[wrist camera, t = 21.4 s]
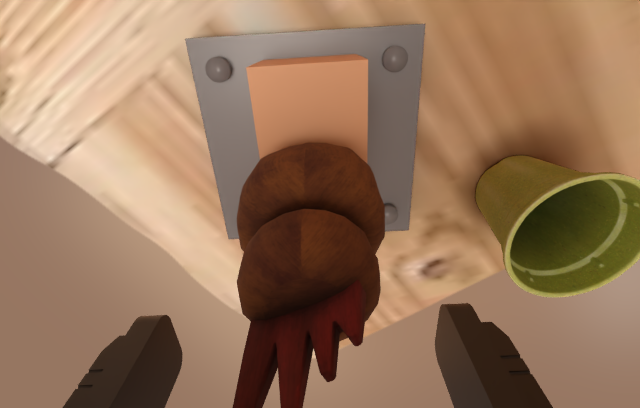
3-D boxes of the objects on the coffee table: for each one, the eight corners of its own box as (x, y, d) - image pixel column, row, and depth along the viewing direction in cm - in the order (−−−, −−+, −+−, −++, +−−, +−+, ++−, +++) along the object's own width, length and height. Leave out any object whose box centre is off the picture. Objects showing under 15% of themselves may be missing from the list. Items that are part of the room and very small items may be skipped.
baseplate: (419, 24, 23) (429, 23, 21) (404, 221, 30) (410, 235, 28) (192, 38, 23) (180, 38, 21) (232, 230, 31) (226, 244, 28)
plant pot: (471, 130, 26) (534, 170, 19) (584, 137, 27) (693, 178, 19) (444, 229, 31) (487, 295, 23) (542, 234, 31) (617, 300, 23)
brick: (356, 54, 22) (368, 59, 17) (357, 216, 28) (366, 258, 23) (263, 59, 23) (246, 67, 17) (283, 220, 28) (275, 263, 23)
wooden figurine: (266, 221, 21) (181, 527, 8) (249, 135, 19) (82, 377, 6) (369, 212, 21) (456, 513, 8) (367, 124, 19) (491, 349, 5)
